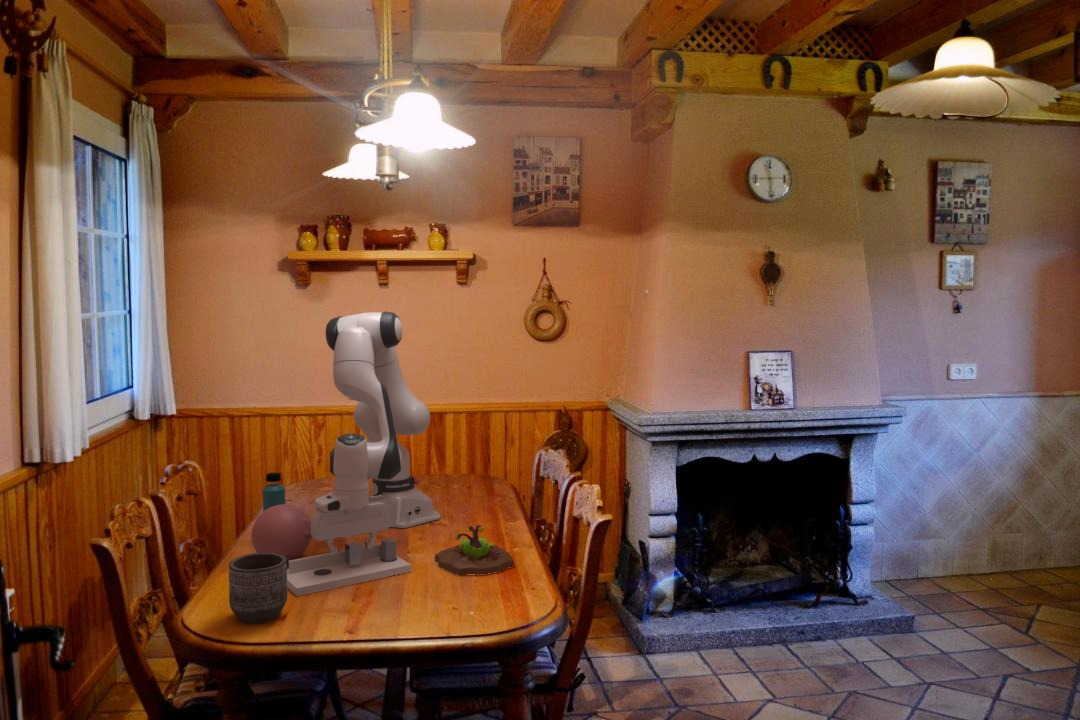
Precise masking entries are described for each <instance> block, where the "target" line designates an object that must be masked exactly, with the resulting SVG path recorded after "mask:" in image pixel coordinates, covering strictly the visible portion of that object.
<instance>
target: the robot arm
mask: <svg viewBox="0 0 1080 720" xmlns="http://www.w3.org/2000/svg"><path fill="white" fill-rule="evenodd" d="M402 324H403V323H401V318H400V317H399V316H398V315H397V314H396V313H395V312H392V311H382V312H380V311H379V312H378V311H377V312H375V311H373V312H371V311H369V312H361V313H356V314H350V315H345V316H341V315H340V316H337V317H333V318H331V319H330V320H329V321H328V322H327V324H326V326H325V340H326V342H327V343H326V344H327V346H328V347H329V348H330V350H332V351H333V358H332V359H333V362H332V363H333V364H332V372H333V373H332V376H333V377H332V378H333V383H334V386H335V388H336V389H337V390H338V392H339V393H340V394H342V395H343V396H345V397H346V398H348V399H351V400H354V401H356V402H358V403H357V404H356V405H355V408H354V410H353V420H354V423H355V425H356V426H357V427H358V428H359V429H360V430H361V431H362V432H363V434H365V436H366V437H365V436H364V435H363V434H359V433H345V434H342V435H340V436H337V438H336V439H335V445H334V447H333V448H332V449H331V451H329V472H330V473H331V475H332V476H334V484H333V486H332V491H330V492H328V493H326V494H324V495H322V496H320V497H317V498H315V500H314V506H315V508H316V509H314V511H313V512H312V515H311V536H312V539H314V540H316V541H317V542H320V541H324V542H325V544H326V545H327V546H328V548H329V552H328V553H330V555H331V556H333V555H337V554H338V553H337V552H338V547H336V546H334V545H333V543H334V539H338V538H346V537H351V536H357V535H362V534H363V535H364V534H368V535H369V536H368V538H367V541H364V547H365V549H372V548H373V545H374V544H373V543H374V541H375V540H376V538H377V533H378V532H381V531H387V530H388V529H389V528H398V529H407V528H411V527H414V526H418V525H423V524H427V523H430V521H431V522H435V521H439V520H441V514H440V513H439V512H438V511H436V510H434V505H433V501H432V499H431V497H429V495H427V494H425V493H424V492H423V491H421V490H420V489H419V488H417V487H416V486H415V485H418V486H419V485H420V484H421V483H422V480H421V479H420V478H418V477H413V476H412V475H410V469H411V467H410V466H411V465H410V463H411V461H410V459H411V458H410V453H409V452H410V451H408V449H407V448H406V447H405V446H404V445H402V444H401V443H400V441H399V440H398V438H397V435H399V436H401V435H402V436H415V435H421V434H423V433H425V432H426V430H427V429H428V427H429V426H430V424H431V423H430V422H431V412H430V410H429V407H428V406H427V405H426V404H425V403H424V402H422V401H421V400H419V399H418V398H417V397H416V396H415V395H414V393H413V392H412V391H411V390H410V389H409V387H408V385H407V382H405V380H404V377H403V374H402V370H401V365H400V361H399V356H398V353H397V352H398V351H397V349H396V346H398V344H399V343H400V342H401V341H402V337H403V325H402ZM366 438H367V439H366ZM367 440H368V441H367ZM368 479H372V495H370V485H369V482H368ZM438 519H439V520H438ZM434 520H435V521H434ZM426 522H427V523H426ZM422 523H423V524H422Z"/></svg>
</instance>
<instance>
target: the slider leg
mask: <svg viewBox="0 0 1080 720" xmlns="http://www.w3.org/2000/svg"><path fill="white" fill-rule="evenodd" d="M361 547H362V546H361V543H360V542H358V541H357V540H355V541H348V542H344V550H345V562H346V563H347V564H348V565H354V564H359V563H361Z"/></svg>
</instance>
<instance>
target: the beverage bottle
mask: <svg viewBox="0 0 1080 720" xmlns="http://www.w3.org/2000/svg"><path fill="white" fill-rule="evenodd" d="M281 475H282V474H281V473H280V472H274V471H273V472H269V473H266V476H265V482H268V484H266V485H265V486H264V487H263V488H262V512H264V511H265V510H266V509H268V508H270V507H272V506H275V505H280V504H286V503H287V502H286V501H287V500H286V487H285V486H284V485H283V484H282V483H277V482H281V480H282V476H281Z"/></svg>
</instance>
